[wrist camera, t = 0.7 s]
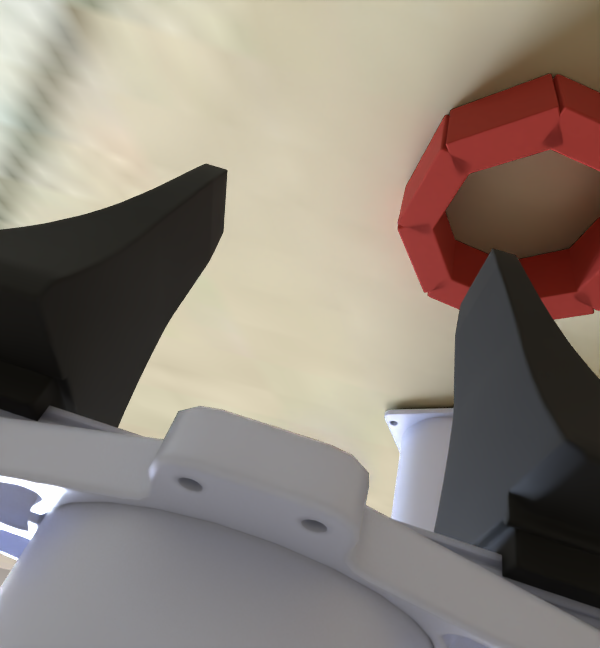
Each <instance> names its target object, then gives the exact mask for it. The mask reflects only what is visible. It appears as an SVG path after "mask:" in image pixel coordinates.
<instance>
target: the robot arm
mask: <svg viewBox="0 0 600 648" xmlns="http://www.w3.org/2000/svg"><path fill="white" fill-rule="evenodd" d="M226 184H227V170H226V169H222V168H219V167H216V166H212V165H209V164H204V165H201V166H199V167H197V168H195V169H193V170H191V171H189V172H187V173H185V174H183V175H181V176H179V177H177V178H175V179H173V180H171V181H169V182H167V183H165V184H163V185H160V186H158V187H156V188H154V189H152V190H150V191H148V192H145V193H143V194H140V195H138V196H136V197H133V198H131V199H128V200H126V201H124V202H121V203H119V204H116V205H113V206H110V207H107V208H104V209H101V210H98V211H94V212H91V213H88V214H84V215H81V216H76V217H72V218H67V219H63V220H58V221H54V222H50V223H45V224H39V225H33V226H26V227H19V228H11V229H3V230H0V553H2V554H4V555H6V556H9V557H11V558H13V559H16V560H17V562H16V563H15V565H14V566H13V568H12V570H11V571H10V573H9V574H8V576H7V577H6V579H5V581H4V582H3V584H2V585H1V587H0V648H600V379H599V378H598V377H597V376H596V375H595V374H594V373H593V372H592V370H591V369H590V368H589V367H588V366H587V364H586V363H585V362H584V361H583V360H582V358H581V357H580V356H579V355H578V353H577V352H576V351H575V350H574V348H573V347H572V346H571V344H570V343H569V342H568V340H567V339H566V337H565V336H564V334H563V333H562V332H561V330H560V329H559V327H558V326H557V324H556V323H555V321H554V320H553V318H552V317H551V315H550V313H549V312H548V310H547V309H546V307H545V305H544V304H543V302H542V300H541V299H540V297H539V295H538V293H537V292H536V290H535V288H534V286H533V285H532V283H531V281H530V279H529V277H528V276H527V274H526V272H525V270H524V268H523V267H522V265H521V263H520V261H519V260H518V258H517V256H516V255H513V254H510V253H506V252H503V251H500V250H496V249H493V248H492V250H491V252H490V254H489V255H488V257H487V259H486V261H485V262H484V264H483V266H482V268H481V269H480V271H479V273H478V275H477V276H476V278H475V280H474V282H473V283H472V285H471V287H470V289H469V290H468V292H467V294H466V296H465V297H464V299H463V301H462V303H461V305H460V311H459V316H458V322H457V328H456V334H455V367H454V408H434V409H396V410H387V411H386V412H385V420H386V422H387V424H388V427H389V429H390V431H391V433H392V436H393V438H394V440H395V443H396V445H397V447H398V449H399V452H400V458H399V465H398V472H397V480H396V487H395V494H394V501H393V509H392V516H391V518H389V517H387V516H386V515H384V514H382V513H380V512H378V511H376V510H374V509H372V508H371V507H369V506H367V505H366V500H367V494H368V489H369V473H368V472H367V470H366V469H365V468H364V467H363V466H362V465H361V464H360V463H359V462H358V460H357V459H356V458H355V457H354V456H353V455H351V454H349V453H347V452H345V451H343V450H341V449H339V448H337V447H335V446H333V445H330V444H327V443H324V442H321V441H318V440H315V439H312V438H309V437H306V436H302V435H299V434H296V433H293V432H290V431H287V430H284V429H281V428H278V427H275V426H272V425H269V424H265V423H262V422H259V421H256V420H253V419H250V418H247V417H244V416H241V415H238V414H235V413H232V412H228V411H225V410H222V409H216V408H210V407H204V406H198V407H194V408H190V409H185V410H181V411H178V413H177V415H176V417H175V419H174V421H173V423H172V425H171V427H170V429H169V431H168V432H167V434H166V436H165V438H164V439H157V438H150V437H144V436H141V435H138V434H135V433H132V432H129V431H126V430H123V429H120V428H118V426H119V423H120V421H121V419H122V416H123V414H124V412H125V410H126V407H127V405H128V403H129V401H130V399H131V396H132V394H133V392H134V390H135V388H136V385H137V383H138V381H139V379H140V377H141V375H142V373H143V371H144V369H145V367H146V365H147V363H148V361H149V359H150V356H151V354H152V352H153V351H154V349H155V347H156V345H157V343H158V341H159V339H160V337H161V335H162V333H163V331H164V329H165V327H166V326H167V324H168V322H169V321H170V319H171V317H172V316H173V314H174V313H175V311H176V310H177V308H178V307H179V305H180V304H181V302H182V301H183V300H184V298H185V297H186V295H187V294H188V292H189V291H190V289H191V288H192V286H193V285H194V283H195V282H196V280H197V279H198V277H199V276H200V274H201V273H202V271H203V270H204V268H205V267H206V265H207V264H208V262H209V261H210V259H211V257H212V255H213V253H214V251H215V249H216V247H217V245H218V242H219V240H220V238H221V236H222V234H223V230H224V215H225V199H226Z"/></svg>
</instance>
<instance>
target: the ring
mask: <svg viewBox="0 0 600 648" xmlns="http://www.w3.org/2000/svg"><path fill="white" fill-rule="evenodd" d="M550 149H551V150H553V151H555V152H558V153H560V154H562V155H564V156H567V157H569V158H571V159H573V160H575V161H578V162H580V163H582V164H584V165H587V166H589V167H591V168H593V169H596V170H598V171H600V93H599V92H597V91H595V90H593V89H591V88H588V87H586V86H584V85H582V84H580V83H577V82H575V81H573V80H571V79H569V78H566V77H564V76H562V75H560V74H557V75H556V76H555V77H554V79H552V75H551V74H547V75H544V76H542V77H539V78H536V79H534V80H531V81H528V82H525V83H523V84H520V85H517V86H514V87H512V88H509V89H506V90H504V91H501V92H498V93H495V94H493V95H490V96H487V97H484V98H482V99H479V100H476V101H474V102H471V103H468V104H465V105H463V106H460V107H457V108H454V109H452V110H450V116H449V115H445V116H444V118H443V120H442V122H441V123H440V125H439V127H438V129H437V131H436V133H435V134H434V136H433V138H432V140H431V142H430V143H429V145H428V147H427V149H426V151H425V153H424V154H423V156H422V158H421V160H420V162H419V163H418V165H417V167H416V169H415V171H414V173H413V174H412V176H411V178H410V180H409V182H408V183H407V185H406V188H405V192H404V197H403V201H402V206H401V210H400V215H399V219H398V232H399V234H400V236H401V239H402V241H403V243H404V246H405V248H406V251H407V253H408V255H409V258H410V260H411V263H412V265H413V267H414V270H415V272H416V275H417V277H418V279H419V282H420V284H421V287H422V289H423V291H424V292H425V293H426V292H428V296H429V297H431V298H433V299H436V300H438V301H440V302H443V303H445V304H448V305H450V306H452V307H455V308H457V309H459V310H460V305H461V303H462V301H463V299H464V297H465V296H466V294H467V292H468V290H469V289H470V287H471V285H472V283H473V282H474V280H475V278H476V276H477V275H478V273H479V271H480V269H481V268H482V266H483V264H484V262H485V261H486V259H487V257H488V255H489V254H487V253H484V252H482V251H480V250H477V249H475V248H473V247H470V246H468V245H466V244H464V243H461V242H459V241H457V240H455V238H454V235H453V232H452V229H451V227H450V224H449V221H448V218H447V215H446V212H445V210H446V209H447V207H448V206H449V204H450V203H451V201H452V200H453V198H454V197H455V195H456V193H457V192H458V190H459V189H460V187H461V186H462V184H463V183H464V181H465V180H466V178H467V176H468V175H469V174H470V173H474V172H477V171H480V170H484V169H487V168H490V167H494V166H497V165H500V164H504V163H507V162H510V161H514V160H517V159H520V158H524V157H527V156H530V155H534V154H537V153H540V152H544V151H547V150H550ZM518 260H519V261H520V263H521V265H522V267H523V268H524V270H525V272H526V274H527V276H528V277H529V279H530V281H531V283H532V285H533V286H534V288H535V290H536V292H537V293H538V295H539V297H540V299H541V300H542V302H543V304H544V305H545V307H546V309H547V310H548V312H549V313H550V315H551V317H552V318H553V320H554V319H561V318H568V317H574V316H581V315H588V314H593V313H594V309H595V310H598V311H600V217H599V218H598V219H597V220H596V221H595V222H594V223H593V224H592V225H591V226H590V227H589V228H588V230H587V231H586V232H585V233H584V234H583V235H582V236H581V237H580V238H579V239H578V240H577V241H576V242H575V243H574V244H573V245H572V246H571V247H570V249H565V250H560V251H555V252H551V253H546V254H541V255H536V256H532V257H527V258H522V259H518Z"/></svg>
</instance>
